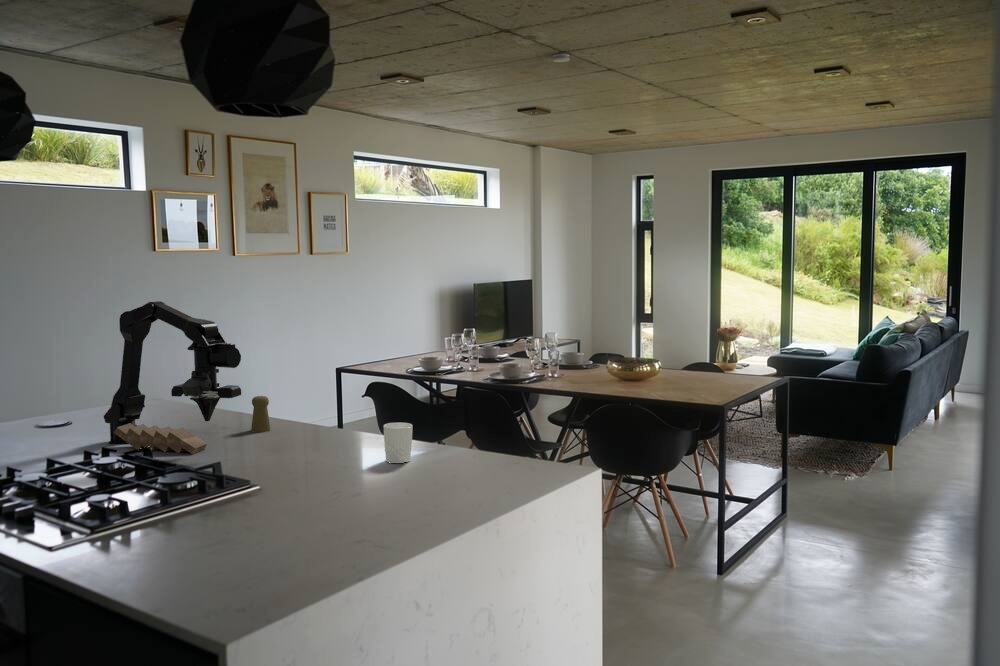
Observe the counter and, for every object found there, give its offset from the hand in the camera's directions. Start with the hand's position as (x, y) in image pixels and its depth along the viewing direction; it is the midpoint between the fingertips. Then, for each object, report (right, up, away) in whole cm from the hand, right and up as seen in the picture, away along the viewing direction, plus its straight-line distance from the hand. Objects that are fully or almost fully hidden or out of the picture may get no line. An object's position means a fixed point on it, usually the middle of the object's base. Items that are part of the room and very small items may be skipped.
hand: (207, 421), depth 225 cm
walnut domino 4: (-7, -8, +2) cm, 11 cm away
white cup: (+55, -11, -6) cm, 56 cm away
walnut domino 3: (-11, -8, +3) cm, 14 cm away
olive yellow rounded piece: (+6, -6, +30) cm, 31 cm away
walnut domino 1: (-19, -8, +5) cm, 21 cm away
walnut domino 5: (-3, -8, +1) cm, 9 cm away
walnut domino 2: (-15, -8, +4) cm, 18 cm away
